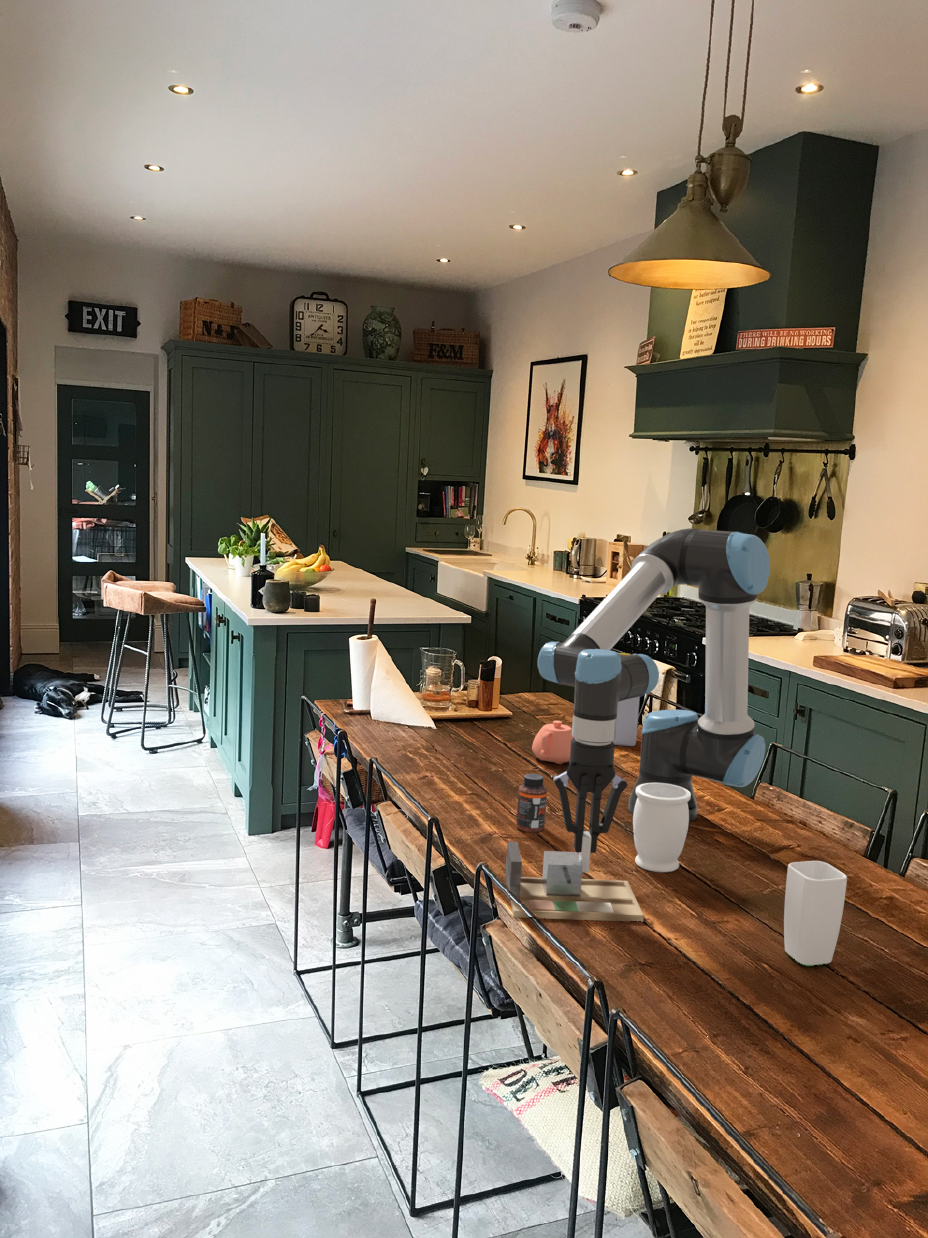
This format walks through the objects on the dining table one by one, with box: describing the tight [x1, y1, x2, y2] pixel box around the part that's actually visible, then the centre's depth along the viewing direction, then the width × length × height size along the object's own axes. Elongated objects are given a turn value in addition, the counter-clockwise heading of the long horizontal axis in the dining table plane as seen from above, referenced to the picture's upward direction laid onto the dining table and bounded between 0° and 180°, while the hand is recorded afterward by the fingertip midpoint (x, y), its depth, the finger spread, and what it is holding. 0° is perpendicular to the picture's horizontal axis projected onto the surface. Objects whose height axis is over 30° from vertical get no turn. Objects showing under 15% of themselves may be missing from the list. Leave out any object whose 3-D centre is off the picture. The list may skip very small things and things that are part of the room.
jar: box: [632, 783, 691, 873], centre depth 191 cm, size 11×10×15 cm
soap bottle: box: [613, 652, 641, 747], centre depth 277 cm, size 9×9×25 cm
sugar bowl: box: [531, 720, 574, 765], centre depth 257 cm, size 12×14×10 cm
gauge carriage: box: [541, 850, 583, 897], centre depth 172 cm, size 6×11×6 cm, turn 2°
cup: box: [783, 860, 848, 967], centre depth 157 cm, size 7×7×15 cm
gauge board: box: [504, 841, 645, 923], centre depth 173 cm, size 22×14×8 cm, turn 92°
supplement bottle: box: [515, 773, 548, 833], centre depth 208 cm, size 6×6×11 cm
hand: (583, 869), depth 175 cm, fingers closed
